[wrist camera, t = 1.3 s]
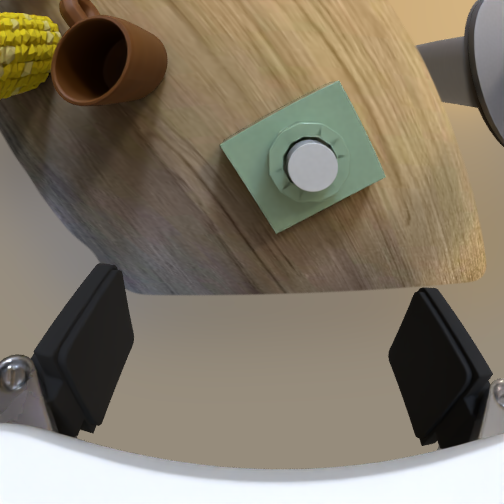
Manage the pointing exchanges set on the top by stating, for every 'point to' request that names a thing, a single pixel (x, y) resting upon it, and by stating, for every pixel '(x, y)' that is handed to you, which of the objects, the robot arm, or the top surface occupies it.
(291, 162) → the grey push button
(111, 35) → the mug
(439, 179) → the top surface
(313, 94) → the green button base
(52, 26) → the food
